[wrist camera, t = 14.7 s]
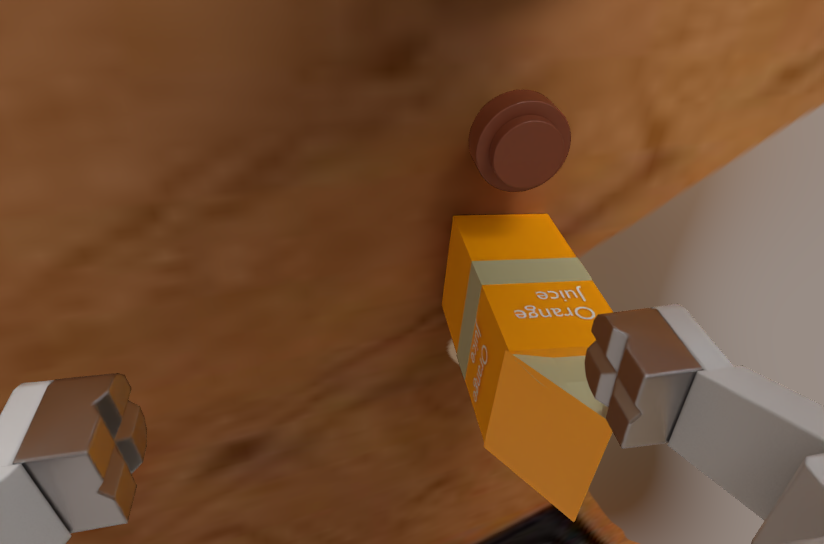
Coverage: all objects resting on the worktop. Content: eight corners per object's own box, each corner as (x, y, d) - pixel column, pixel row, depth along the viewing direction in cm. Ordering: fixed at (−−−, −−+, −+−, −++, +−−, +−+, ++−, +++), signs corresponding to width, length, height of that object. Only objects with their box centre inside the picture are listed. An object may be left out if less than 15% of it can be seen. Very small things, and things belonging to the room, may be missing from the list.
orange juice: (549, 212, 45) (687, 417, 29) (527, 301, 50) (635, 516, 34) (450, 214, 43) (538, 430, 27) (439, 305, 48) (507, 531, 33)
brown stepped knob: (459, 76, 37) (483, 111, 32) (549, 70, 38) (585, 103, 33) (456, 161, 41) (477, 204, 36) (538, 155, 41) (569, 195, 37)
